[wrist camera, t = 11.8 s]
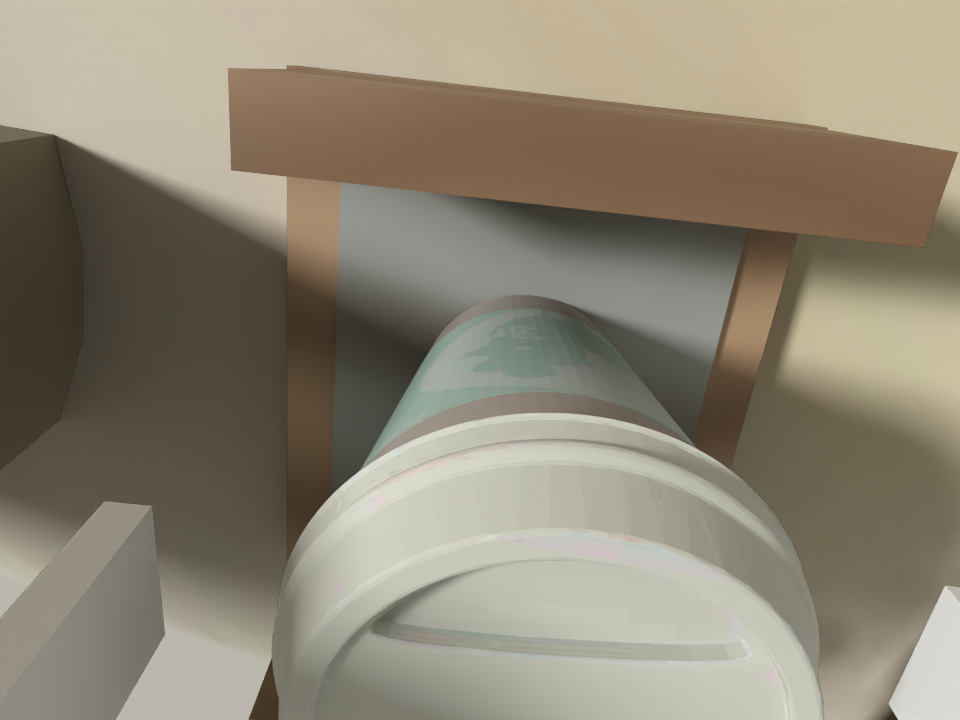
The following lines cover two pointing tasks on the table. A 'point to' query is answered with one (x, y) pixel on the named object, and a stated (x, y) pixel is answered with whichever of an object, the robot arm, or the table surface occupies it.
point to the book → (35, 288)
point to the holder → (539, 240)
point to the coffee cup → (542, 553)
